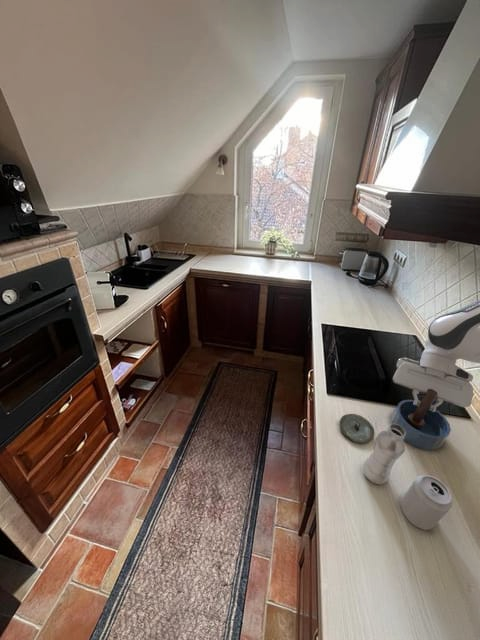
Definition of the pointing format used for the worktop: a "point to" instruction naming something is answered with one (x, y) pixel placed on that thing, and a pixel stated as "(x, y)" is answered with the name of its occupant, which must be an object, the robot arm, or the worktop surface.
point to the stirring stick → (421, 410)
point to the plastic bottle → (385, 454)
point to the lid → (356, 428)
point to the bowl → (431, 431)
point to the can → (426, 502)
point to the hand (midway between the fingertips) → (423, 408)
